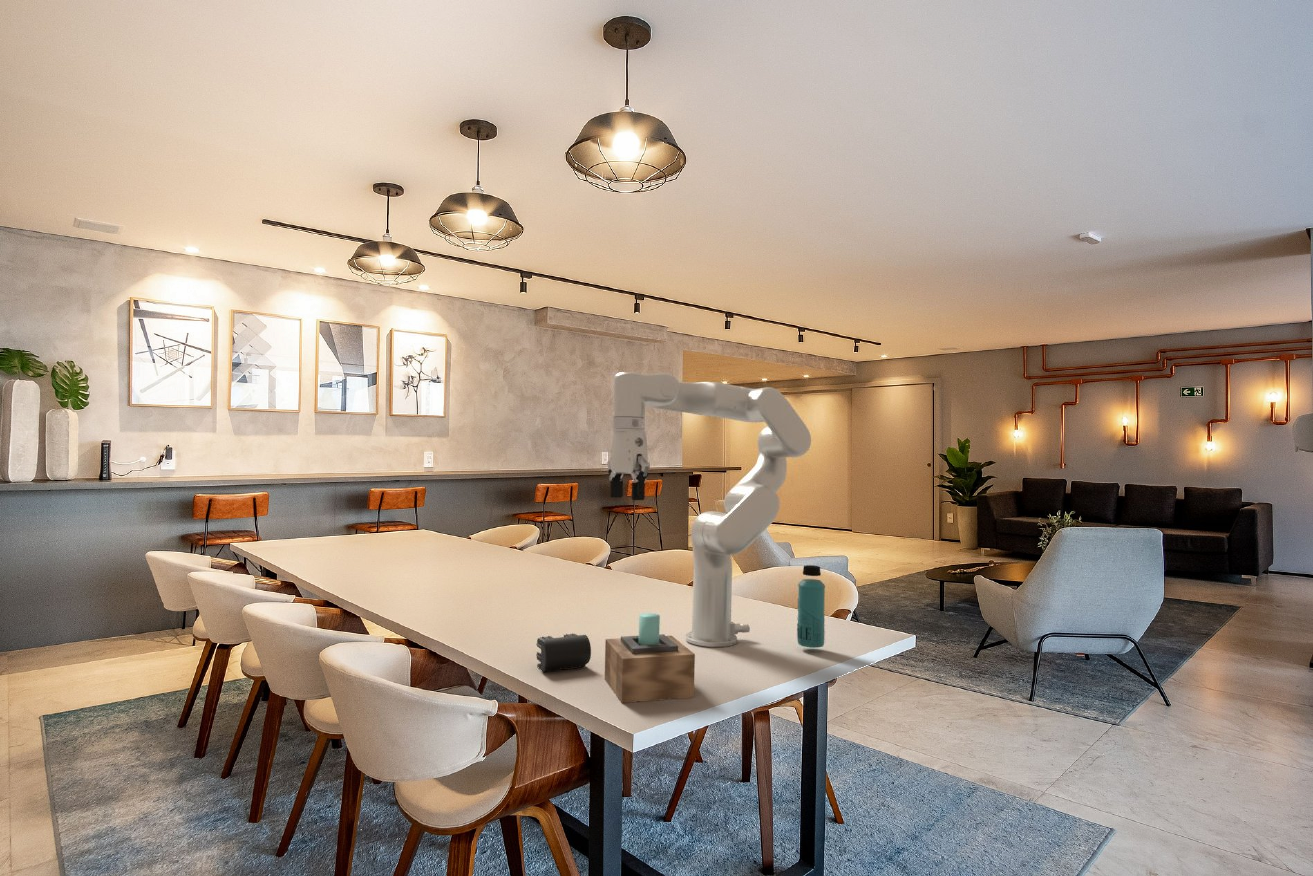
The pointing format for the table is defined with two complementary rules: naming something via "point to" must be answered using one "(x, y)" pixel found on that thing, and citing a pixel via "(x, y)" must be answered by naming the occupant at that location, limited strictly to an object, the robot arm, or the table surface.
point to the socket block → (649, 669)
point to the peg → (649, 629)
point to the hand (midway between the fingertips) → (626, 498)
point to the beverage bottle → (811, 609)
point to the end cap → (563, 652)
